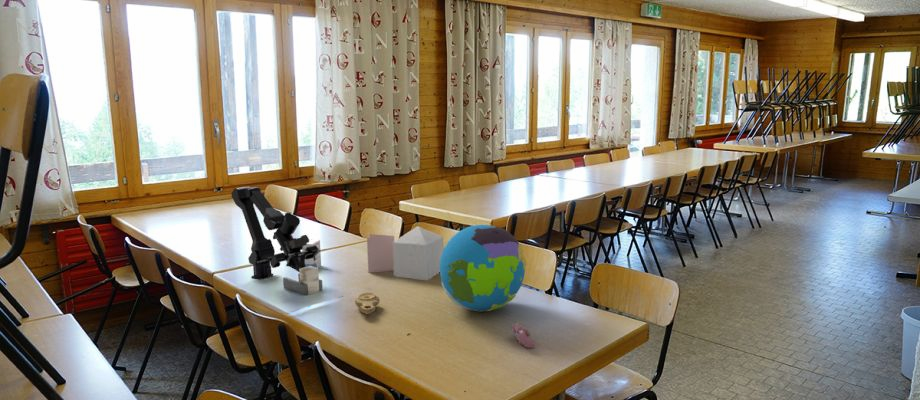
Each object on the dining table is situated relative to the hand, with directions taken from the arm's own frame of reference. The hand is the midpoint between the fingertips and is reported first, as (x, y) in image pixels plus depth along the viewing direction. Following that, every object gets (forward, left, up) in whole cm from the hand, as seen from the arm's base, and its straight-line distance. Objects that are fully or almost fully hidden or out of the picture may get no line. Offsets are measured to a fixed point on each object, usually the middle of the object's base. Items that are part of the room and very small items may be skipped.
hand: (304, 274), depth 233 cm
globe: (+69, +6, -7) cm, 70 cm away
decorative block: (+30, +37, -8) cm, 49 cm away
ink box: (-17, +28, -7) cm, 34 cm away
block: (+3, -1, -6) cm, 7 cm away
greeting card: (+13, +34, -7) cm, 38 cm away
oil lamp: (+32, -9, -8) cm, 34 cm away
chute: (-2, +1, -7) cm, 7 cm away
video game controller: (+90, -16, -8) cm, 92 cm away
